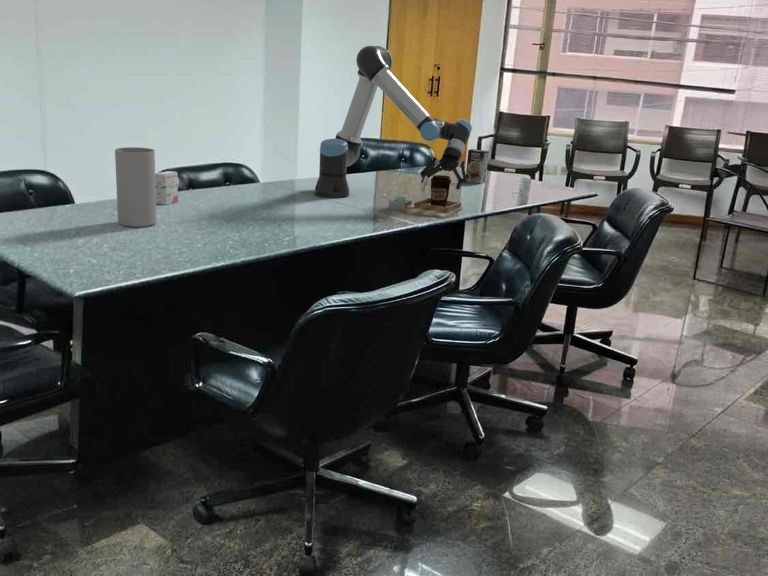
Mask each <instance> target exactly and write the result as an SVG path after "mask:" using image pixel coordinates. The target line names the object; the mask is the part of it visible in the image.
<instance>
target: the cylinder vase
mask: <svg viewBox="0 0 768 576" xmlns="http://www.w3.org/2000/svg"><path fill="white" fill-rule="evenodd" d="M155 153H156V152H155V149H153V148H148V147H134V146H133V147H129V146H126V147H117V148H115V149H114V159H115V161H114V162H115V181H116V182H115V184H116V203H117V204H116V207H117V221H118V224H119V225H120V226H122V225H123V227H126V226H129V227H128V228H144V227H145V228H146V226H148V227H152V226H154V225H155V224H156V223H157V220H158V219H157V204H156V184H155V174H156V158H155V157H156V156H155V155H156V154H155ZM151 225H152V226H151Z"/></svg>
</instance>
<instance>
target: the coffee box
mask: <svg viewBox="0 0 768 576" xmlns="http://www.w3.org/2000/svg"><path fill="white" fill-rule="evenodd" d="M489 156H490V151H488V150H482V149H476V148H475V149H474V148H472V149H468V151H467V159H466V160H467V161H466V169H465V173H466V178H467V183H473V182H474V183H473V184H479V183H480V185H482V184H486V183H487V181H486V180H487V174H488V173H487V171H488V163H489ZM485 182H486V183H485ZM481 183H482V184H481Z"/></svg>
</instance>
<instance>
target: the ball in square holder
mask: <svg viewBox="0 0 768 576" xmlns="http://www.w3.org/2000/svg"><path fill="white" fill-rule="evenodd" d="M412 203H413V201H412V200H411V199H406V198H405V202H400V201H396V197H395V198H393V199H390V200H388V209H389V210H392V211H398V210H399V212H402V209H406V208H408V207H411V206H412V205H413V204H412Z"/></svg>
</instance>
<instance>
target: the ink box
mask: <svg viewBox="0 0 768 576" xmlns="http://www.w3.org/2000/svg"><path fill="white" fill-rule="evenodd" d="M178 177H179V176H178V172H177V171H171V170H169V171H168V170H167V171H161V172H157V173H156V172H155V184H156V205H161V206H162V205H163V206H167V205H171V204H173V203H174V204H175V203H177V202H178V201H179V199H178V198H179V197H178V194H179V193H178V191H179V189H178V179H179V178H178Z"/></svg>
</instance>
